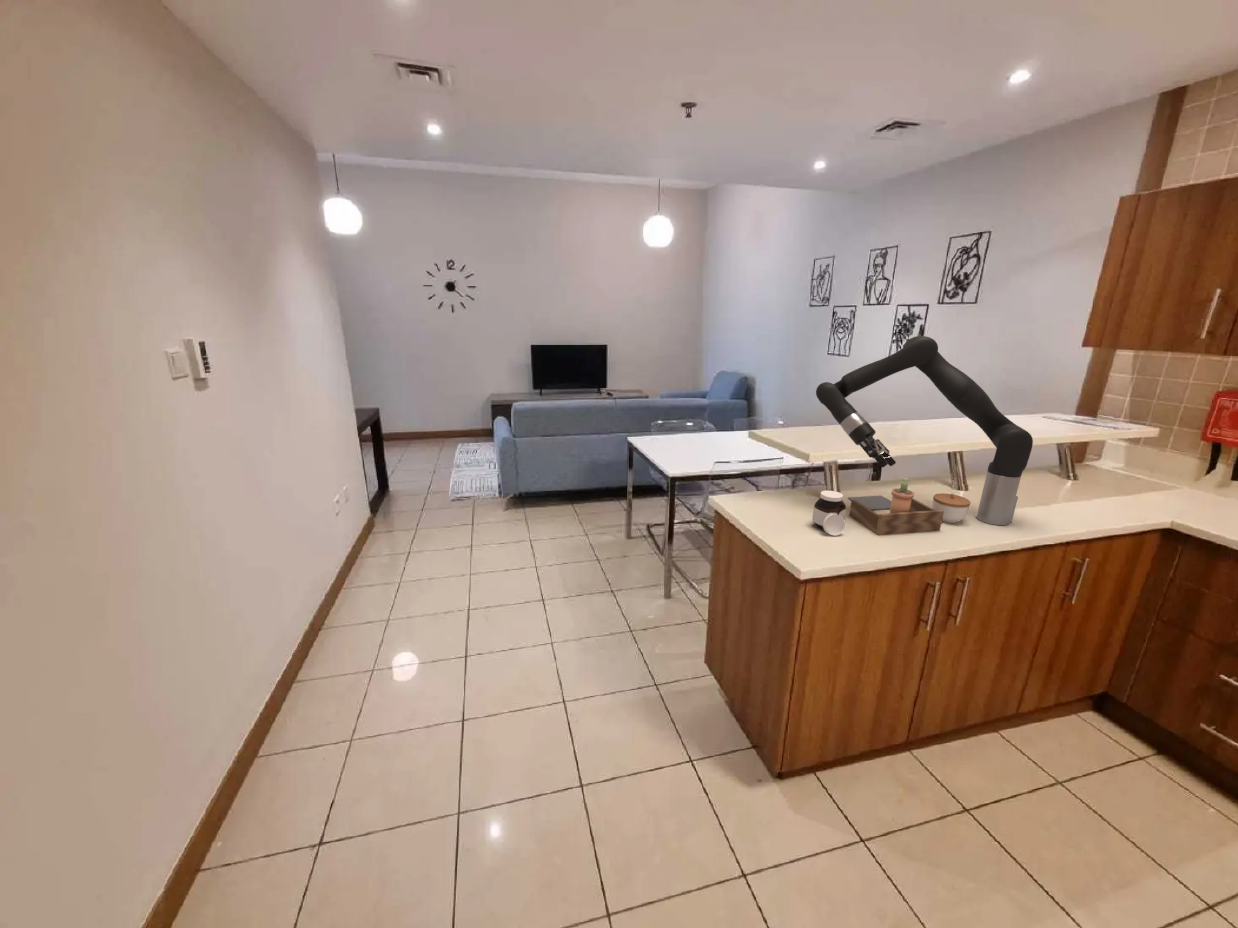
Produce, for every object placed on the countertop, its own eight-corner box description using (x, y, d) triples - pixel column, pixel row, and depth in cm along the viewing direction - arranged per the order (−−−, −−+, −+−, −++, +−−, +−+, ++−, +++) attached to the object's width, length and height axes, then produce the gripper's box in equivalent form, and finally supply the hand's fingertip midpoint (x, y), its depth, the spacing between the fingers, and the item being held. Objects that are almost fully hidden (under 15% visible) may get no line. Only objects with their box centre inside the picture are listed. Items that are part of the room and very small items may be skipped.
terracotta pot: (898, 521, 172) (907, 474, 167) (911, 528, 166) (921, 480, 161) (882, 522, 171) (890, 475, 166) (894, 530, 165) (903, 481, 160)
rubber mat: (880, 496, 194) (881, 495, 194) (902, 508, 183) (902, 507, 183) (847, 498, 192) (848, 497, 192) (867, 510, 181) (867, 509, 181)
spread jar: (828, 519, 174) (832, 488, 170) (856, 531, 164) (861, 498, 161) (803, 526, 168) (807, 493, 165) (831, 539, 159) (836, 505, 155)
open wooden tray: (905, 512, 180) (909, 493, 178) (939, 530, 165) (944, 511, 163) (849, 515, 177) (851, 497, 175) (878, 535, 162) (881, 515, 159)
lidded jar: (932, 510, 181) (937, 486, 178) (967, 518, 175) (973, 493, 172) (926, 520, 173) (932, 495, 170) (963, 528, 167) (969, 502, 164)
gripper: (859, 421, 166) (892, 459, 159) (873, 421, 176) (905, 457, 169) (841, 435, 170) (873, 473, 164) (856, 435, 180) (886, 470, 174)
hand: (889, 465), depth 166 cm, fingers open, 8 cm apart
